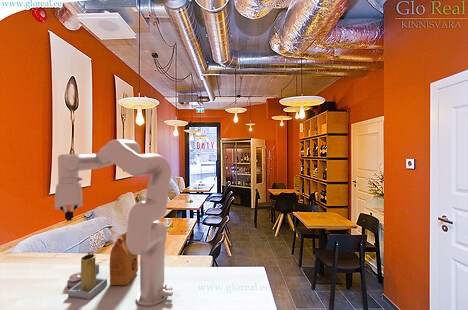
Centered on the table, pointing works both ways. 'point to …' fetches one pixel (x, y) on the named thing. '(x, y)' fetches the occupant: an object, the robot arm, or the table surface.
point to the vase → (88, 273)
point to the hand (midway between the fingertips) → (69, 220)
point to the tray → (76, 292)
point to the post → (97, 268)
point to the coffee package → (122, 263)
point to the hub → (71, 284)
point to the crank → (76, 275)
